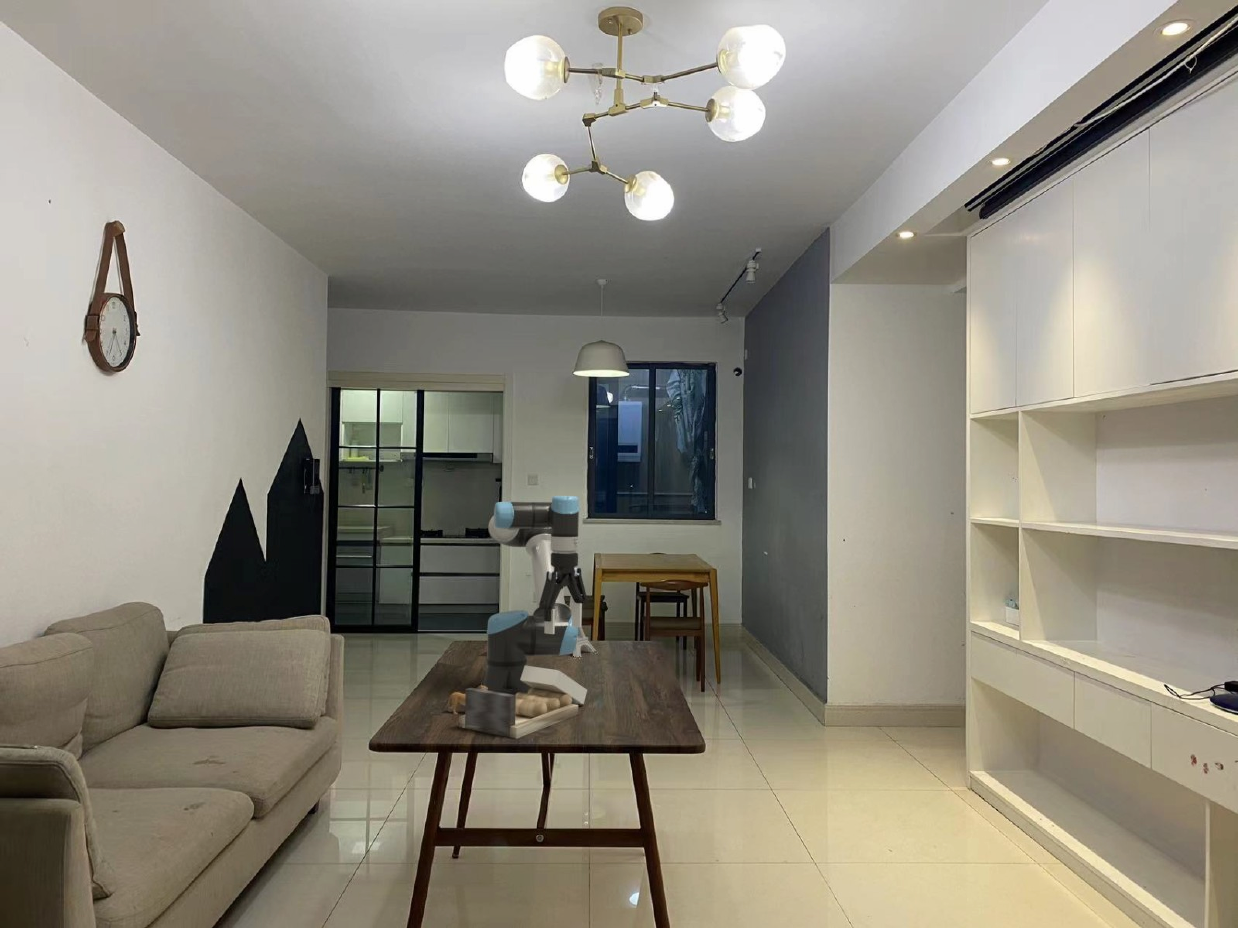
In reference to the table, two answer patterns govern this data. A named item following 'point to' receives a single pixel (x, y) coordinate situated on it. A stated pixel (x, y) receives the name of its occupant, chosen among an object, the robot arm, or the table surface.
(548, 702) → the roller mid
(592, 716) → the table surface
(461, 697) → the lion figurine
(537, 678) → the slab
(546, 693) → the roller rear
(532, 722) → the track
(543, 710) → the roller front
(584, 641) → the eiffel tower
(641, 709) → the table surface
